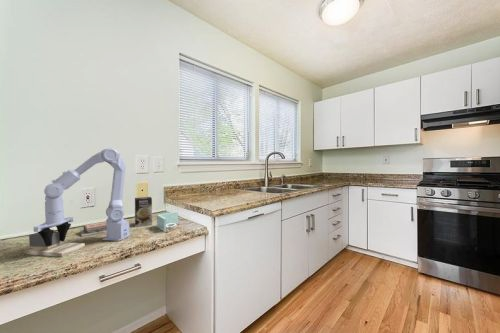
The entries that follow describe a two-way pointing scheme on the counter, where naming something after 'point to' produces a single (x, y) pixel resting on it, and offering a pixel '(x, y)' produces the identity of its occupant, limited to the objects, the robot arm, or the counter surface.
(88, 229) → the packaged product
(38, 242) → the block
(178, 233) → the counter surface
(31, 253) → the pine board
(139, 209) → the coffee box
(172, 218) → the pale turquoise carton
